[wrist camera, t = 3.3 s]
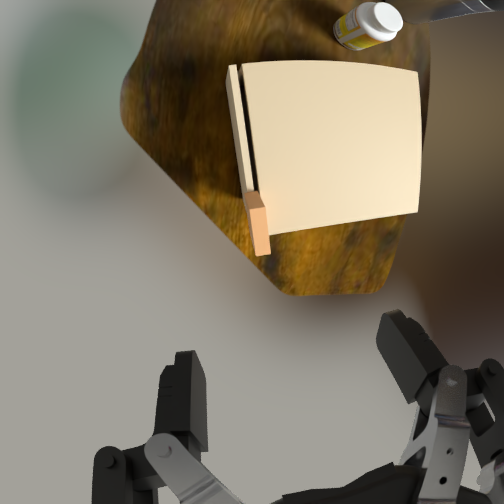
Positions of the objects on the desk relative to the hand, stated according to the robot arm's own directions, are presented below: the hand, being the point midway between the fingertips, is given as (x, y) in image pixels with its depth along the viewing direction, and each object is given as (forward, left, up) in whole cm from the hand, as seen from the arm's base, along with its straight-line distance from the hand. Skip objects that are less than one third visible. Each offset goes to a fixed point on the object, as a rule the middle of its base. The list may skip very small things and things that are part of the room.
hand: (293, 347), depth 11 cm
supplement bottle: (-18, -20, -28) cm, 39 cm away
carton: (-10, -5, -28) cm, 30 cm away
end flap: (0, -5, -28) cm, 28 cm away
